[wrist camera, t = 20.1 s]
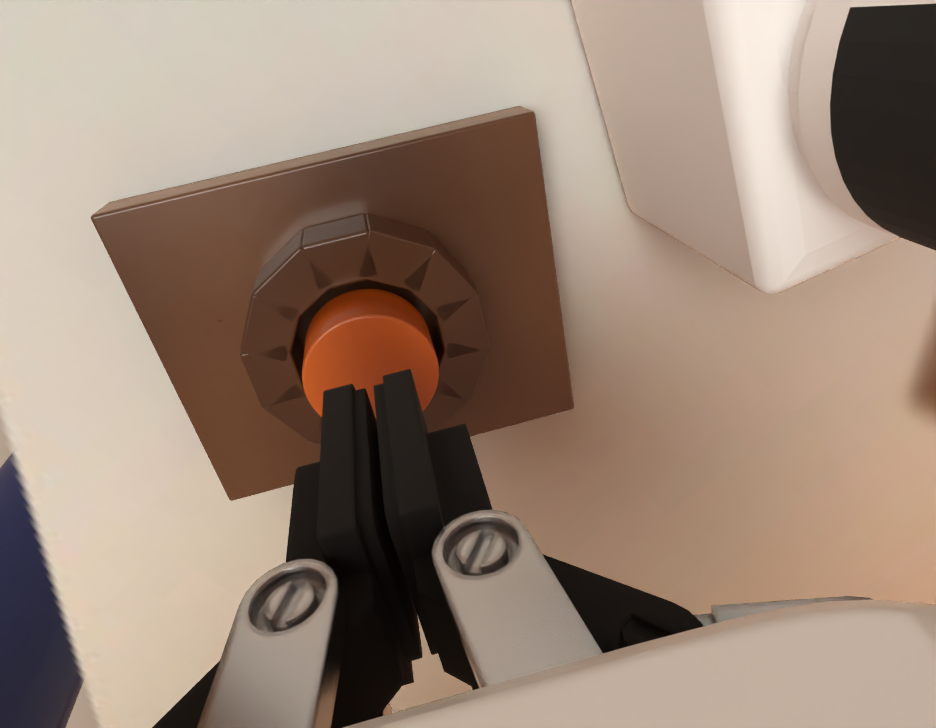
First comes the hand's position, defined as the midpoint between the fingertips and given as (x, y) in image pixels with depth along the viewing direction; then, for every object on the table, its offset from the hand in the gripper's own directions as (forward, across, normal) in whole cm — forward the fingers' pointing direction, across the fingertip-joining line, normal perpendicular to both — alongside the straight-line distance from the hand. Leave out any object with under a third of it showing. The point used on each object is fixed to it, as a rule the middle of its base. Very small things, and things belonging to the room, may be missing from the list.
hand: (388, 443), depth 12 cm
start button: (+5, 0, 0) cm, 5 cm away
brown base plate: (+7, 0, 0) cm, 7 cm away
